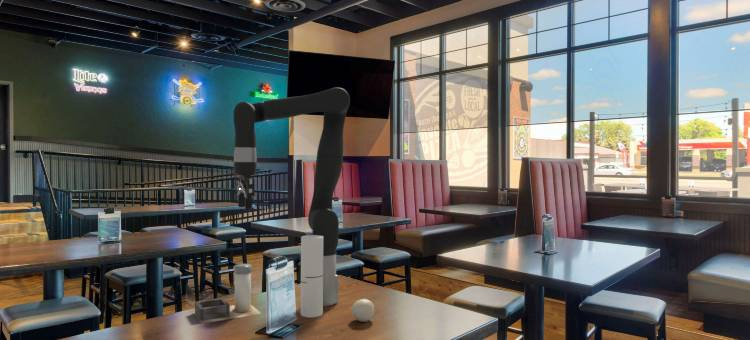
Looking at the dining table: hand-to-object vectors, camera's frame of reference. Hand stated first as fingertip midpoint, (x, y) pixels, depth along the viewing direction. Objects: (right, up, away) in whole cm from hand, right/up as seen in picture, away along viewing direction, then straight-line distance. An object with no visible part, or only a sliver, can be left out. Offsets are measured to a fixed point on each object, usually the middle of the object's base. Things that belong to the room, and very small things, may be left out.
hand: (244, 208), depth 158 cm
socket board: (-2, -33, -13) cm, 36 cm away
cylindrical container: (+24, -34, -9) cm, 42 cm away
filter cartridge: (+2, -32, -11) cm, 33 cm away
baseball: (+41, -34, -16) cm, 55 cm away
